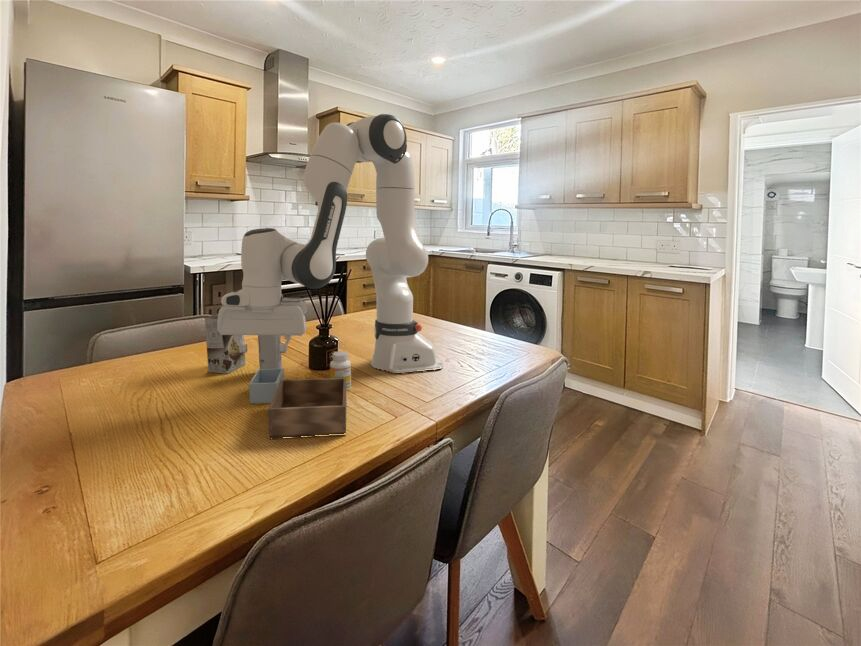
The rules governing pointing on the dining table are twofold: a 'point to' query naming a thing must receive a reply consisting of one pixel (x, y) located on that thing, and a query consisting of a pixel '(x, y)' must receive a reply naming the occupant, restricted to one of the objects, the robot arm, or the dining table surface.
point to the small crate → (265, 385)
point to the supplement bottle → (341, 367)
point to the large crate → (308, 408)
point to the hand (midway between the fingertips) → (263, 352)
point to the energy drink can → (269, 351)
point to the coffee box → (222, 349)
